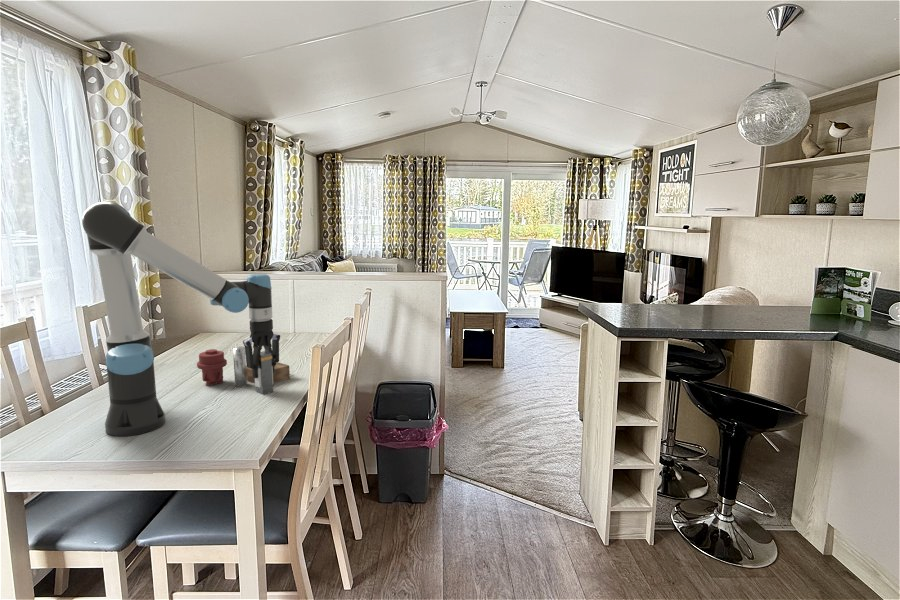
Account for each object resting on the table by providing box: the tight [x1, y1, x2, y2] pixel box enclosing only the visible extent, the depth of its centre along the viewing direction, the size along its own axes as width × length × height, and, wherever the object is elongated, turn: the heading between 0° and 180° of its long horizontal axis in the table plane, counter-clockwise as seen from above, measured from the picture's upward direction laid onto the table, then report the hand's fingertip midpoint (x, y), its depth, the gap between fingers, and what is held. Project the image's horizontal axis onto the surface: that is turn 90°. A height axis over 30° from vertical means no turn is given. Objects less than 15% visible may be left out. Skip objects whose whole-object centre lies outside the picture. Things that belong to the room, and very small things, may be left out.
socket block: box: [246, 361, 291, 385], centre depth 201 cm, size 12×12×5 cm
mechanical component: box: [196, 348, 228, 386], centre depth 195 cm, size 12×10×10 cm
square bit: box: [255, 350, 274, 395], centre depth 186 cm, size 4×4×14 cm
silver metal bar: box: [232, 345, 248, 388], centre depth 193 cm, size 4×4×14 cm
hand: (264, 384), depth 186 cm, fingers closed on square bit, 4 cm apart
